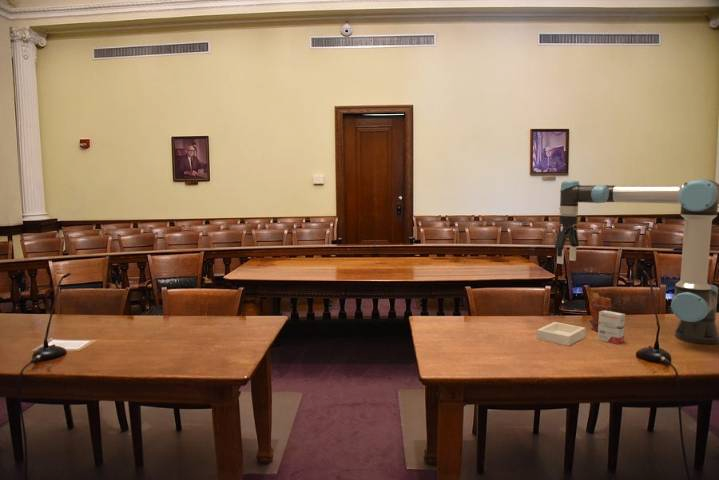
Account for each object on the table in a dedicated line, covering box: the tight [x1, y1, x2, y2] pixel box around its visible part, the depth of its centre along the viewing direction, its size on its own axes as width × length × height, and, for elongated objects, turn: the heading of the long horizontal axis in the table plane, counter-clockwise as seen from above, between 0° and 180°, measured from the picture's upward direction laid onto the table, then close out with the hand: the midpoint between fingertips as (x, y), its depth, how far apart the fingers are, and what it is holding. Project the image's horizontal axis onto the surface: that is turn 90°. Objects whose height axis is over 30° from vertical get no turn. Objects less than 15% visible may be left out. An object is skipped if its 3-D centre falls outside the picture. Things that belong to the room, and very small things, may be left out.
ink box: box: [597, 310, 626, 345], centre depth 200 cm, size 8×5×12 cm, turn 39°
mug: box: [588, 292, 614, 332], centre depth 217 cm, size 15×8×15 cm, turn 179°
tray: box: [536, 321, 586, 347], centre depth 204 cm, size 13×17×4 cm
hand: (566, 262), depth 225 cm, fingers open, 13 cm apart
